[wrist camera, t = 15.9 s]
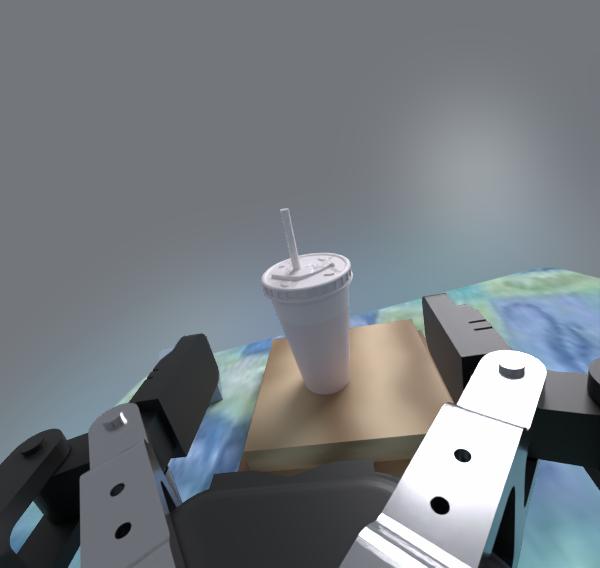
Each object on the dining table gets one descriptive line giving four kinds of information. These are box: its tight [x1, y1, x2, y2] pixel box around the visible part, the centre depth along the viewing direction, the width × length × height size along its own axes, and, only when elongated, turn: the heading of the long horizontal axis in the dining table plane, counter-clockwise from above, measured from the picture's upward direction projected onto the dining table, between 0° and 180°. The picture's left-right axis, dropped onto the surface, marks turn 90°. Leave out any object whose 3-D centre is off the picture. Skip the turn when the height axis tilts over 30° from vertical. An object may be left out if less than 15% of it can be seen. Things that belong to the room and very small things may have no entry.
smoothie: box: [261, 208, 353, 395], centre depth 25 cm, size 6×6×14 cm
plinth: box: [238, 319, 454, 479], centre depth 29 cm, size 16×16×4 cm
